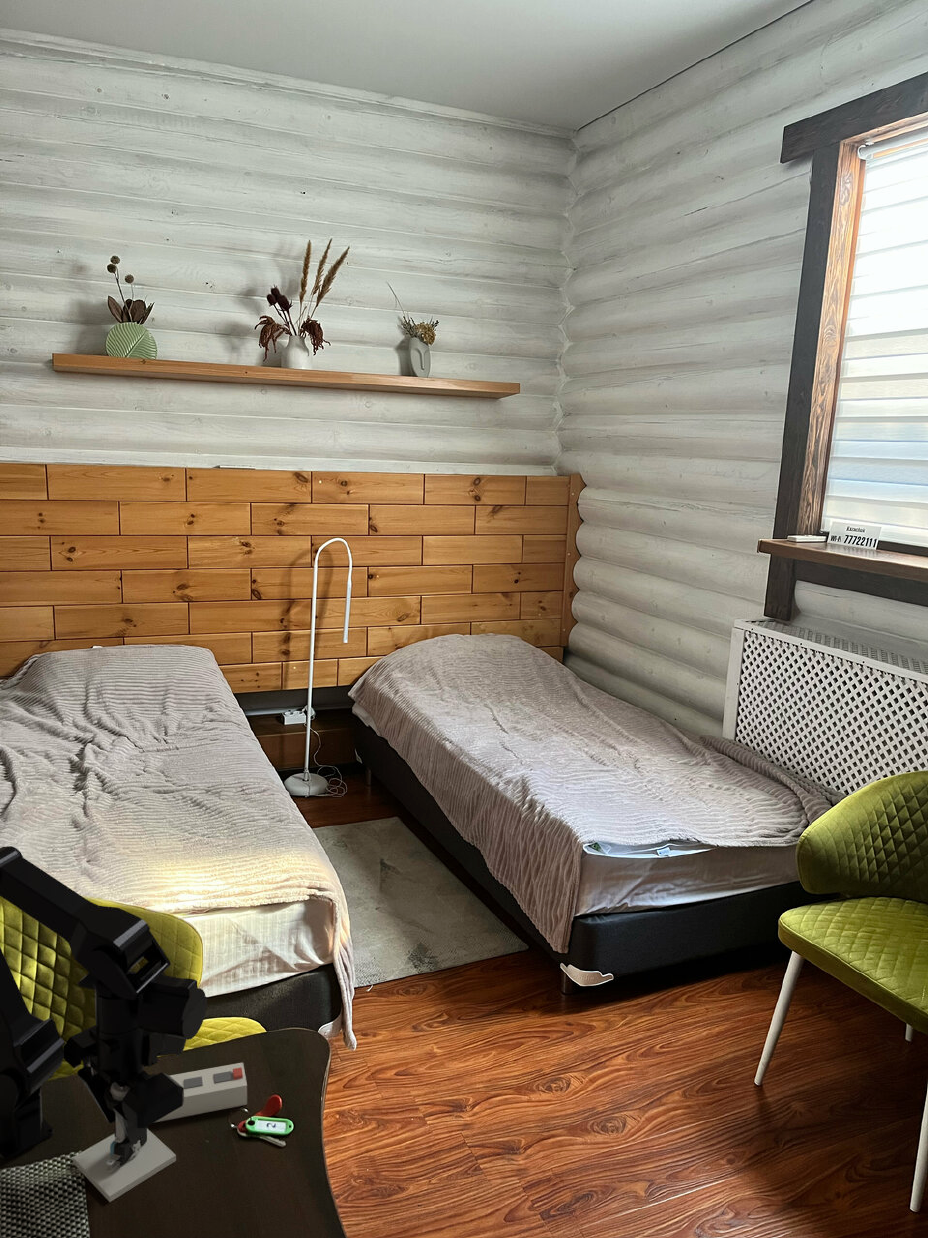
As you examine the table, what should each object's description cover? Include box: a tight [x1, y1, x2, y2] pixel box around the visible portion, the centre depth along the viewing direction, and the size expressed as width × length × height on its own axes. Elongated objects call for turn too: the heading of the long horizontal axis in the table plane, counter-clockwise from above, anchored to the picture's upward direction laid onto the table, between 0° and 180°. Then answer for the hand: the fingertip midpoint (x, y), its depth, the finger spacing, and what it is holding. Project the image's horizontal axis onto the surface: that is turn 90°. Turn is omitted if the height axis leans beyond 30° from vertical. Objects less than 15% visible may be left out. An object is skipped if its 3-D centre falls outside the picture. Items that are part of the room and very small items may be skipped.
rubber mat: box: [72, 1128, 177, 1203], centre depth 116 cm, size 9×9×1 cm
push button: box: [104, 1083, 148, 1172], centre depth 115 cm, size 7×5×10 cm
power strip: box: [153, 1062, 248, 1124], centre depth 127 cm, size 14×5×4 cm, turn 110°
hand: (123, 1131), depth 116 cm, fingers open, 5 cm apart
